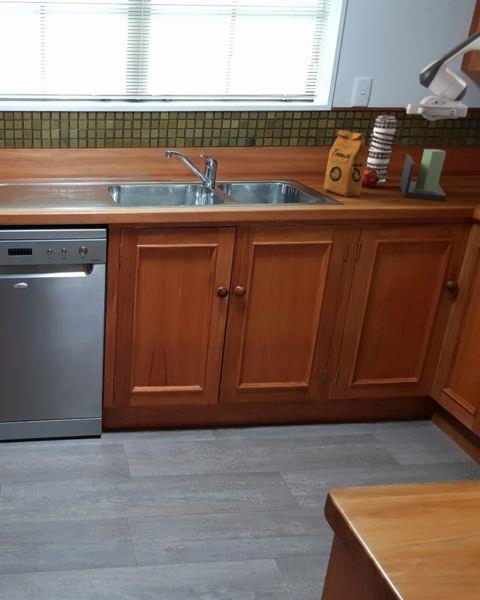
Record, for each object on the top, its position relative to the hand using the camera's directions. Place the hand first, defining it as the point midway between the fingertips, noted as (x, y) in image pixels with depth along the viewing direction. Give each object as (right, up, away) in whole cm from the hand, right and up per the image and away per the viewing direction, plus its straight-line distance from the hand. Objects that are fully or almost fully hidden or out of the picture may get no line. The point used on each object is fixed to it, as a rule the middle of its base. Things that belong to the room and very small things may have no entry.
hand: (438, 111), depth 226 cm
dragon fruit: (-23, -26, +9) cm, 36 cm away
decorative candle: (-14, -21, +21) cm, 33 cm away
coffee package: (-38, -31, -3) cm, 49 cm away
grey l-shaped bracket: (-6, -30, 0) cm, 31 cm away
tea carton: (-7, -29, -4) cm, 30 cm away
